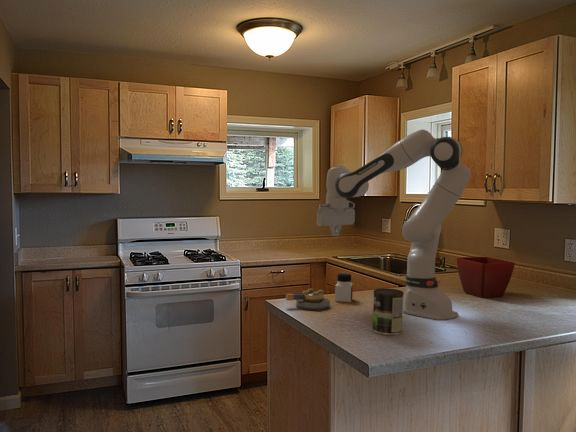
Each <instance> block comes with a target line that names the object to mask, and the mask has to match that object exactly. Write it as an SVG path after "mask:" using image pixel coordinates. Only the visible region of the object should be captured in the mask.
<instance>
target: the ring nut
mask: <svg viewBox="0 0 576 432" xmlns="http://www.w3.org/2000/svg"><path fill="white" fill-rule="evenodd" d="M324 298H325V292H324V290H323V289H318V290H317V291H314V288H307V290H302V293H285V300H286V301H287V302H288V301H289V302H290V301H296V300H300V299H302V300H304V301H308V302H320V301H323V300H324Z"/></svg>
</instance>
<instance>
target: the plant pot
mask: <svg viewBox="0 0 576 432" xmlns="http://www.w3.org/2000/svg"><path fill="white" fill-rule="evenodd" d="M515 264H516V262H514V261H509V260H506V259H505V260H504V259H499V258H495V257H490V256H469V257H467V256H465V257H464V256H463V257H456V265H457V270H458V275H459V280H460V283H461V286H462V289H463V292H464V293H465V294H469V295H472V296H475V297H478V298H481V299H482V298H483V299H484V298H498V297H499V296H500V297H503V296H504V294H505V292H506V291H507V288H508V286H509V284H510V281H511V278H512V276H513V272H514V269H515Z"/></svg>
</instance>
